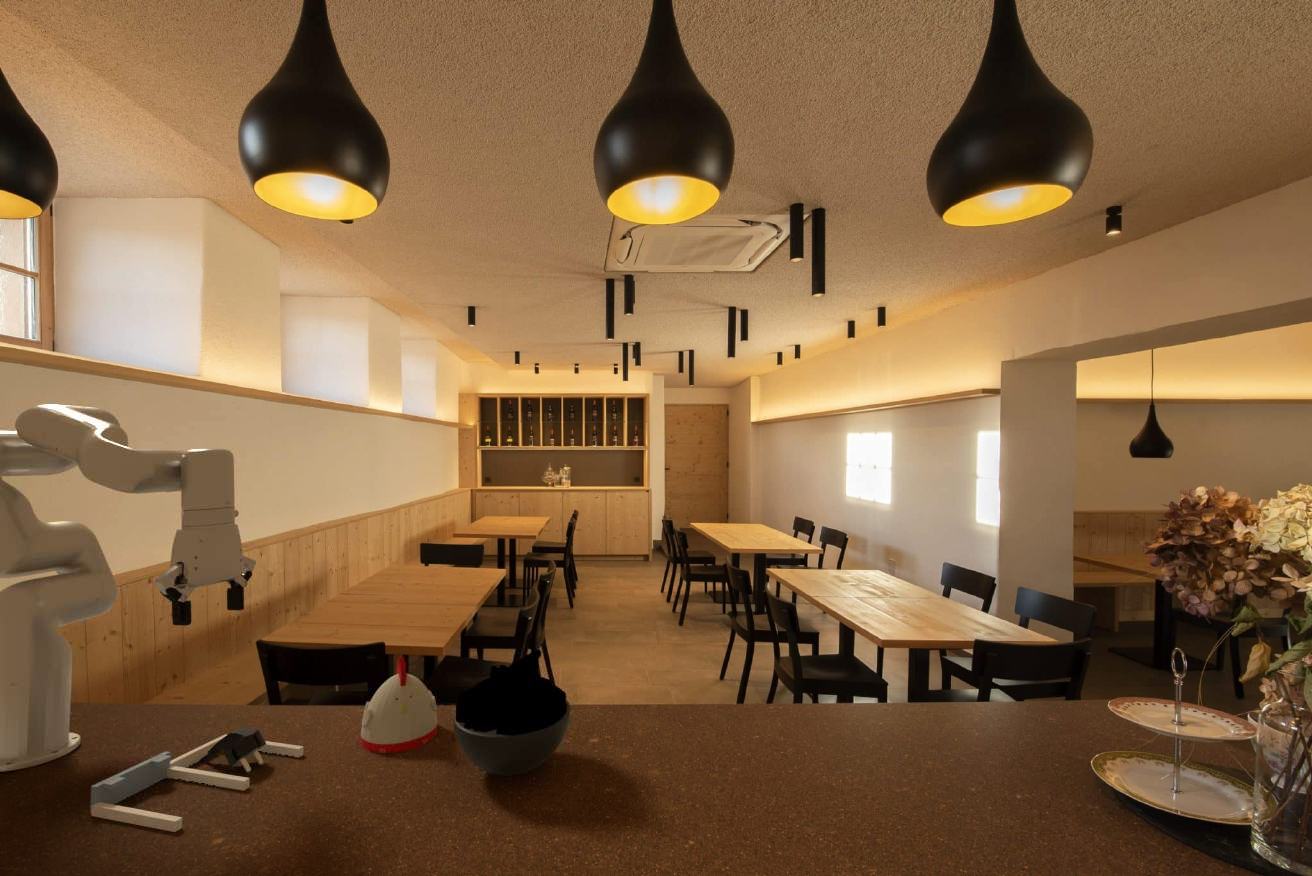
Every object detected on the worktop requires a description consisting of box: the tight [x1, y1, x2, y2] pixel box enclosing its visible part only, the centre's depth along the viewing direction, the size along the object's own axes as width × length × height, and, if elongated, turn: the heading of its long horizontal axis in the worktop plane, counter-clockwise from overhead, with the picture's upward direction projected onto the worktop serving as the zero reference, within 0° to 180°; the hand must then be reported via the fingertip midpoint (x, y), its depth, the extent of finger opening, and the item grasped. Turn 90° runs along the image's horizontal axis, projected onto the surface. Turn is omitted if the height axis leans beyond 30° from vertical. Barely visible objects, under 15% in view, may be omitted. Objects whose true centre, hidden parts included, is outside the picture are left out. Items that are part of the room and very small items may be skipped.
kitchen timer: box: [359, 656, 439, 754], centre depth 117 cm, size 14×14×15 cm
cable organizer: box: [89, 733, 304, 833], centre depth 99 cm, size 17×23×4 cm
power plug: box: [199, 725, 266, 774], centre depth 105 cm, size 6×8×12 cm
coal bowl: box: [453, 649, 572, 777], centre depth 105 cm, size 20×20×19 cm
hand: (210, 617), depth 104 cm, fingers open, 9 cm apart
